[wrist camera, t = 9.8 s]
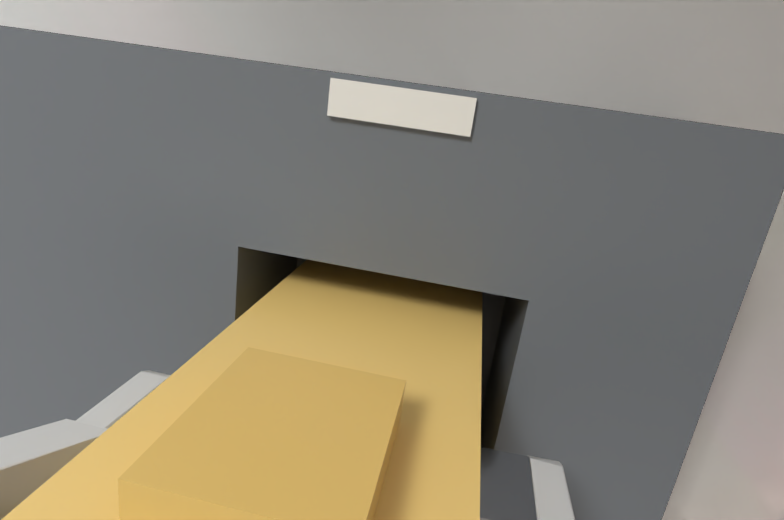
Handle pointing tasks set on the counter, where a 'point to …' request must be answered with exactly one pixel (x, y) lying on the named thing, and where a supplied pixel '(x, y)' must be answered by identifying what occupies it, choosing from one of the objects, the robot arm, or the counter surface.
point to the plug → (301, 414)
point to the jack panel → (376, 238)
